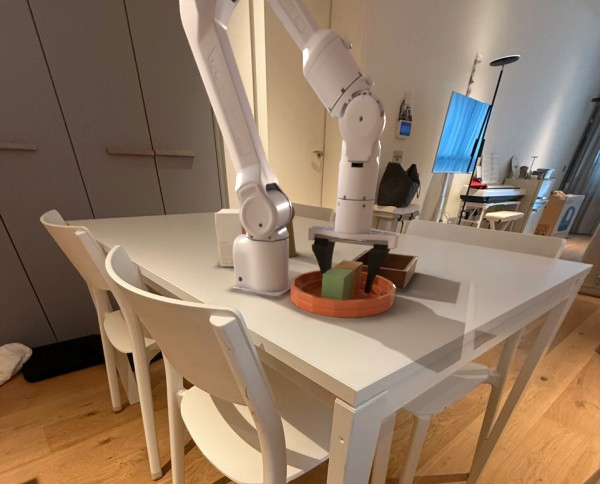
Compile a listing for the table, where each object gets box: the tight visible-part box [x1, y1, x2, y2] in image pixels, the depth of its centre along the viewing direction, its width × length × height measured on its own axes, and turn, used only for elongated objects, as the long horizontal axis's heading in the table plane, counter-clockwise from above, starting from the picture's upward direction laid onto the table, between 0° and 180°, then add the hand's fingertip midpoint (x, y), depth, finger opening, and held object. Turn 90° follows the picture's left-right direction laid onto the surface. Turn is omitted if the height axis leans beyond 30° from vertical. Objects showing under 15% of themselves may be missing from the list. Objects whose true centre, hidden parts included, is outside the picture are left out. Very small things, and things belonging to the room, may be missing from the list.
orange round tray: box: [290, 269, 397, 319], centre depth 57 cm, size 17×17×3 cm
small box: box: [214, 208, 246, 268], centre depth 74 cm, size 8×6×10 cm
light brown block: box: [334, 259, 363, 299], centre depth 58 cm, size 4×4×5 cm
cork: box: [286, 205, 297, 258], centre depth 82 cm, size 6×6×11 cm
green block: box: [322, 267, 353, 300], centre depth 54 cm, size 4×4×5 cm
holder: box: [350, 249, 419, 290], centre depth 68 cm, size 11×13×4 cm
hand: (346, 288), depth 59 cm, fingers open, 7 cm apart
